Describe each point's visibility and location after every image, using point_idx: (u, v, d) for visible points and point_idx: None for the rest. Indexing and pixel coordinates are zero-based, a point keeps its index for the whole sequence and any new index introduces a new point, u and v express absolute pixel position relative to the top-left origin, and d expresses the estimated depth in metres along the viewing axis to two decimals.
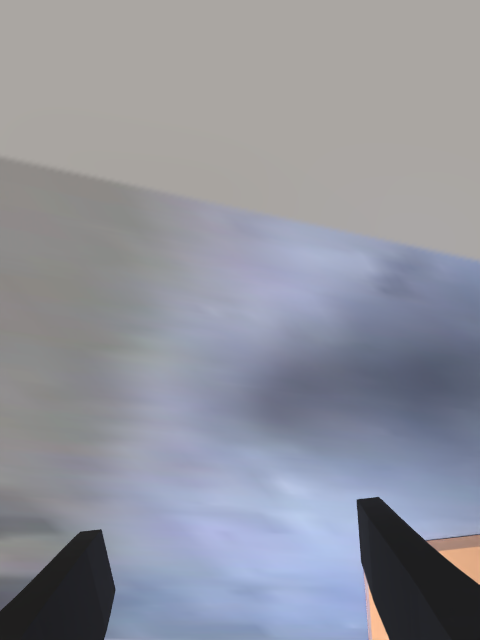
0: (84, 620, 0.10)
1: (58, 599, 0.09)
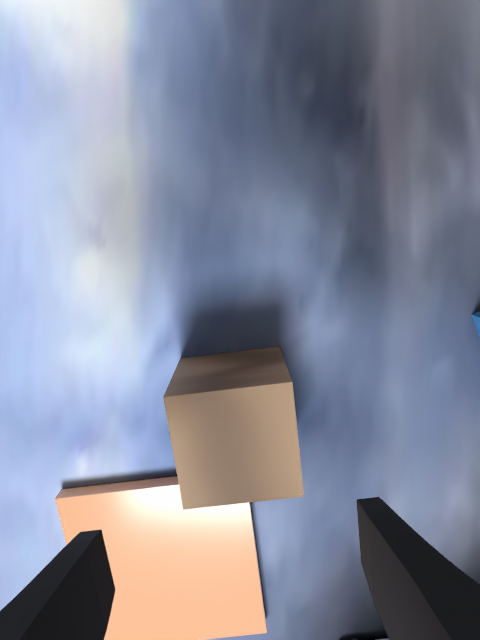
0: (84, 620, 0.10)
1: (58, 599, 0.09)
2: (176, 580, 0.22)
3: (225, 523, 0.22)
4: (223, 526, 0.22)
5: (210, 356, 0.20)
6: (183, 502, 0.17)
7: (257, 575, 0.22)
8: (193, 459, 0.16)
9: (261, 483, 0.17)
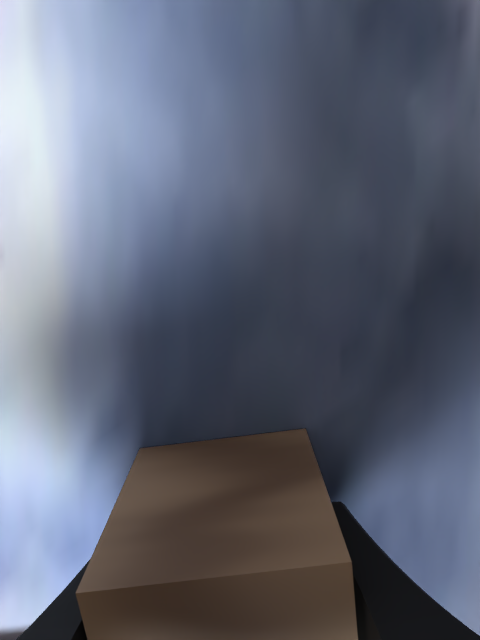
0: None
1: None
2: None
3: None
4: None
5: (188, 449, 0.12)
6: None
7: None
8: None
9: None
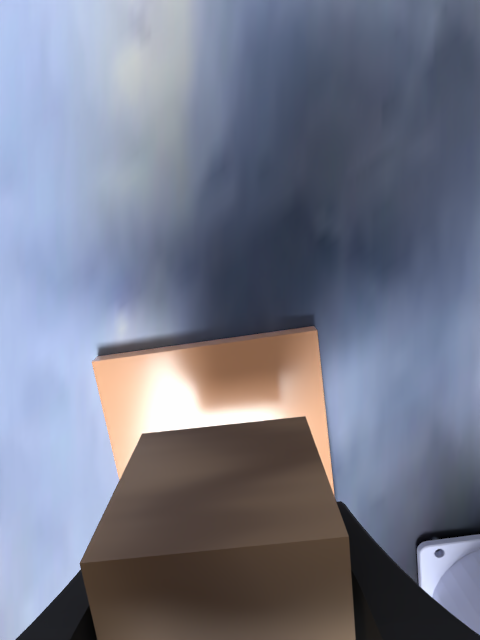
0: None
1: None
2: None
3: (291, 390, 0.18)
4: (289, 393, 0.18)
5: (190, 434, 0.12)
6: None
7: (328, 455, 0.19)
8: None
9: None
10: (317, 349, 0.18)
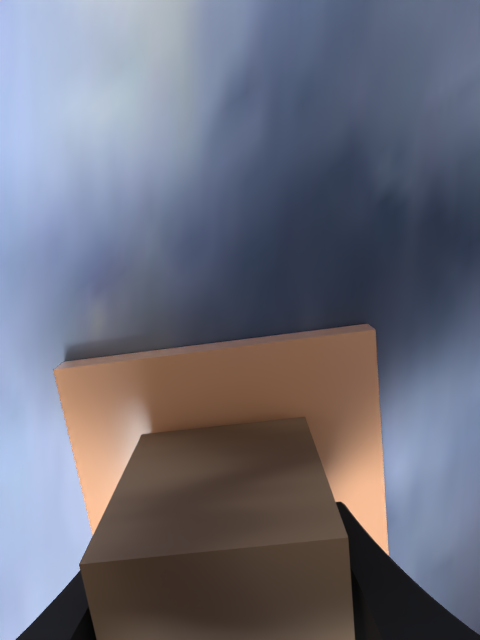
0: None
1: None
2: None
3: (335, 414, 0.13)
4: (332, 418, 0.13)
5: (189, 435, 0.12)
6: None
7: (383, 503, 0.14)
8: None
9: None
10: (374, 357, 0.13)
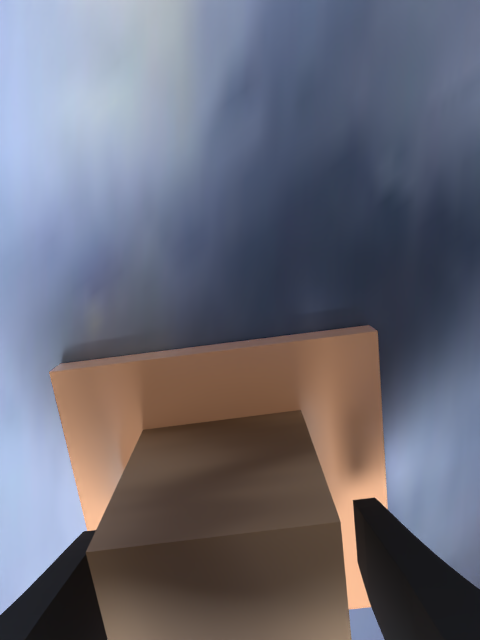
0: (88, 619, 0.10)
1: (63, 598, 0.09)
2: None
3: (337, 417, 0.13)
4: (333, 421, 0.13)
5: (189, 430, 0.12)
6: None
7: (385, 507, 0.14)
8: None
9: None
10: (376, 359, 0.12)
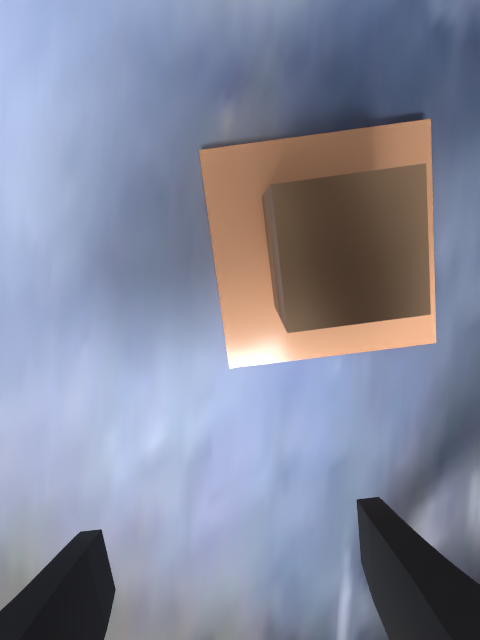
0: (84, 620, 0.10)
1: (58, 599, 0.09)
2: None
3: None
4: None
5: None
6: (288, 323, 0.14)
7: (432, 261, 0.19)
8: (302, 267, 0.14)
9: (381, 298, 0.14)
10: (429, 140, 0.18)
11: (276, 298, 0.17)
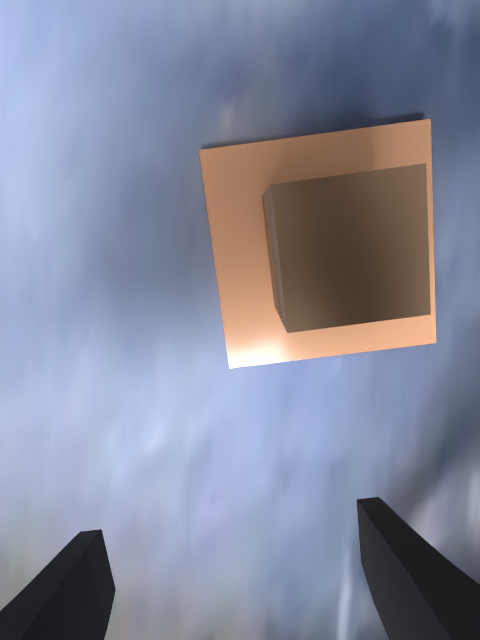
0: (84, 620, 0.10)
1: (58, 599, 0.09)
2: None
3: None
4: None
5: None
6: (288, 323, 0.14)
7: (432, 261, 0.19)
8: (302, 267, 0.14)
9: (381, 298, 0.14)
10: (429, 140, 0.18)
11: (276, 298, 0.17)
